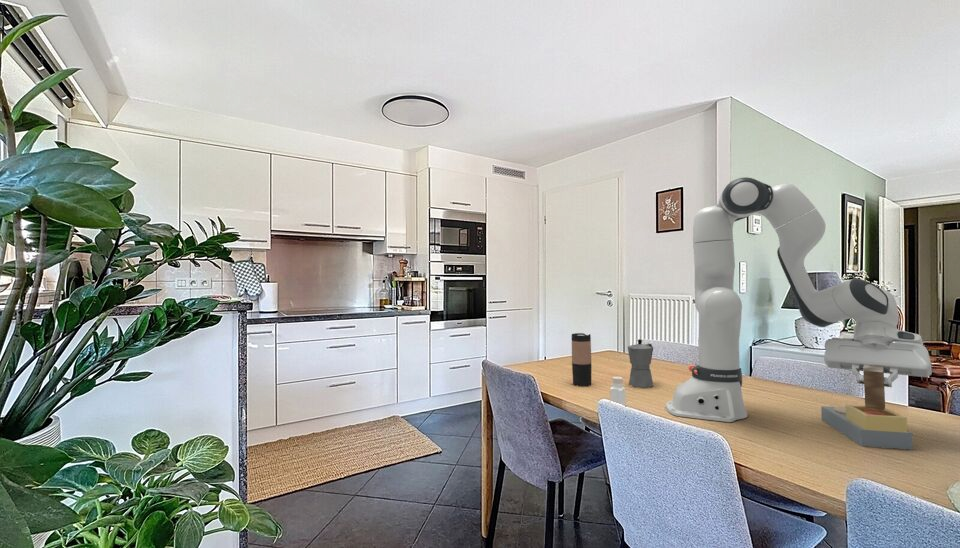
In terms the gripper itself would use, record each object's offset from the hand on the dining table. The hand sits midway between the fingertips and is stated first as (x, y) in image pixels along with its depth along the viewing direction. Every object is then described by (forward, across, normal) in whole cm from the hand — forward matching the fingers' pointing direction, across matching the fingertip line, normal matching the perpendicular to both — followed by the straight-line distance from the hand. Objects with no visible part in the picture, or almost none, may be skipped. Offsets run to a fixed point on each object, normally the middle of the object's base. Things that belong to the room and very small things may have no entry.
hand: (873, 384), depth 106 cm
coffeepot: (-2, -69, +22) cm, 72 cm away
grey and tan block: (+6, -3, +14) cm, 16 cm away
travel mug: (+8, -87, +11) cm, 88 cm away
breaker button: (+8, 0, +9) cm, 12 cm away
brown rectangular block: (+4, 0, +5) cm, 6 cm away
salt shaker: (+21, -61, -1) cm, 65 cm away
